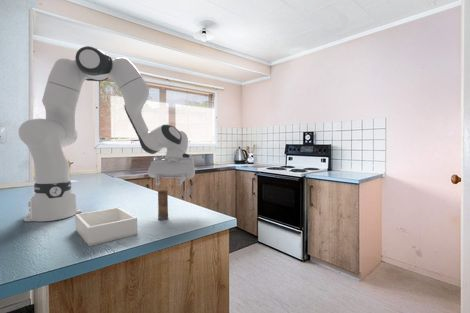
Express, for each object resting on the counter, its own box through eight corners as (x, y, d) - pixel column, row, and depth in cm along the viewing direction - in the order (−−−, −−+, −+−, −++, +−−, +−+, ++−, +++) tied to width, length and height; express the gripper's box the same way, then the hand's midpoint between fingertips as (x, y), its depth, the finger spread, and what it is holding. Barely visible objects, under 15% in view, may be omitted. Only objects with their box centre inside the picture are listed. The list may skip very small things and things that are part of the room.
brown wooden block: (160, 217, 99) (159, 190, 98) (169, 217, 99) (169, 190, 98) (156, 220, 95) (156, 191, 94) (166, 220, 95) (166, 192, 94)
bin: (75, 230, 84) (75, 214, 83) (119, 221, 93) (118, 207, 93) (88, 246, 70) (88, 227, 70) (137, 234, 80) (137, 217, 80)
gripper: (150, 155, 111) (141, 179, 101) (195, 155, 110) (191, 180, 101) (154, 164, 115) (146, 188, 106) (197, 164, 115) (193, 188, 105)
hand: (168, 184), depth 103 cm, fingers open, 8 cm apart
